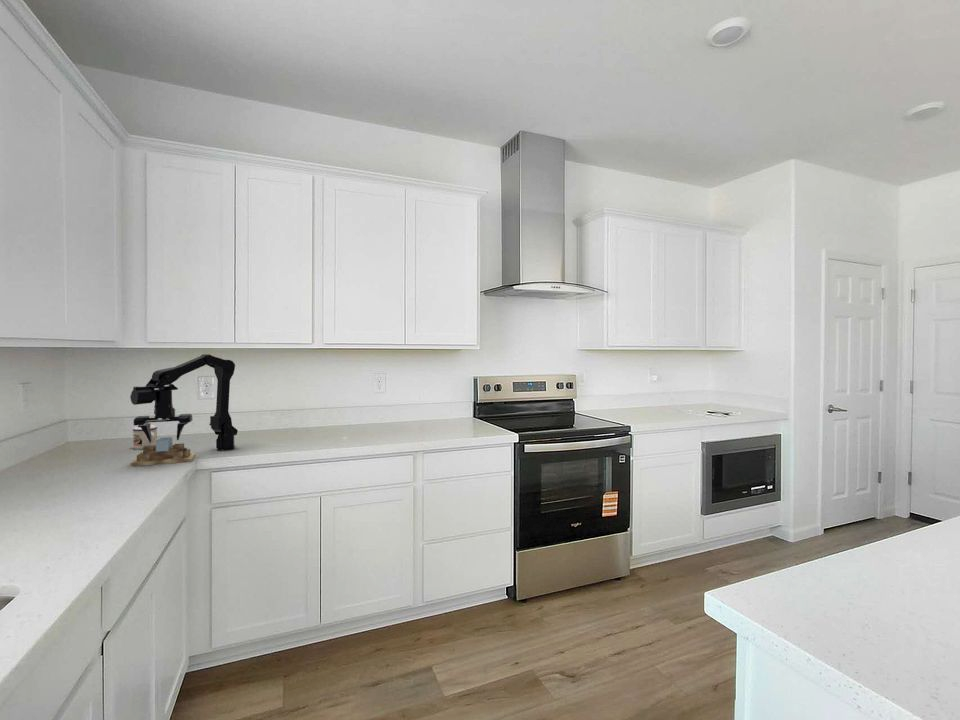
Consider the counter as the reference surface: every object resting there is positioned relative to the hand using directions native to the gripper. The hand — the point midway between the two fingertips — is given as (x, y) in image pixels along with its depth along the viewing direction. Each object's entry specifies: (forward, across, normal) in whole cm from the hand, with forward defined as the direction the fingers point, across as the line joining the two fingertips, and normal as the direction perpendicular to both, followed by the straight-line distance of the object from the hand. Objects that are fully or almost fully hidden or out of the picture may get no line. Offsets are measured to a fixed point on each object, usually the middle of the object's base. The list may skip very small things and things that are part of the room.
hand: (164, 440), depth 185 cm
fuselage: (+7, 0, 0) cm, 7 cm away
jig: (+8, 0, 0) cm, 8 cm away
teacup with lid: (+8, +13, -30) cm, 34 cm away
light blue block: (+3, 0, 0) cm, 3 cm away
